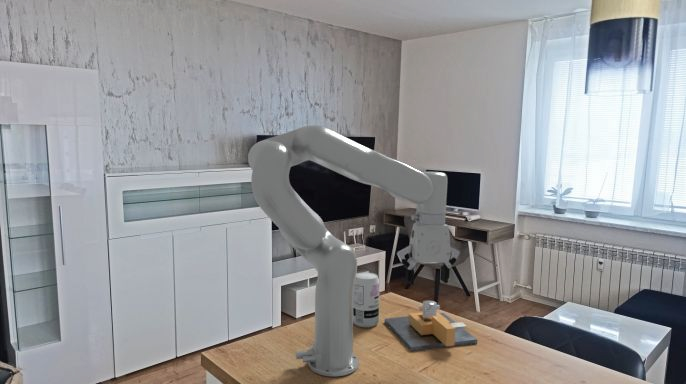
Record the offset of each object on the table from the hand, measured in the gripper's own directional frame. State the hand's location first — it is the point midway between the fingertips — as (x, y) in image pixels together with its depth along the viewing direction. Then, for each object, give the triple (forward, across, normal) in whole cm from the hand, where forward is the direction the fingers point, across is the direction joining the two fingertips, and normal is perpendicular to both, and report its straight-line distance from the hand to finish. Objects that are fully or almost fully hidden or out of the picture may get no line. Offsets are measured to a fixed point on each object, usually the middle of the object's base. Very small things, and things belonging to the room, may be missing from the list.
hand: (427, 282), depth 123 cm
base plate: (+19, +6, +10) cm, 22 cm away
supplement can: (+19, -11, +20) cm, 30 cm away
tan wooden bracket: (+17, +6, +6) cm, 19 cm away
